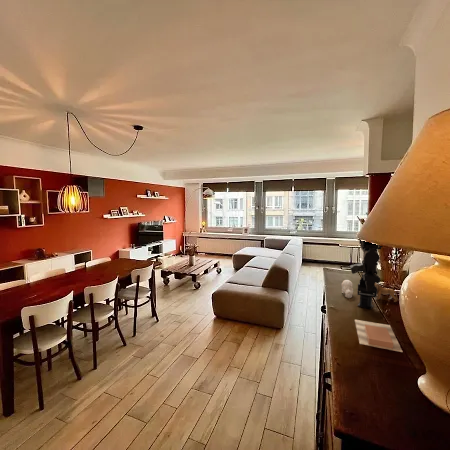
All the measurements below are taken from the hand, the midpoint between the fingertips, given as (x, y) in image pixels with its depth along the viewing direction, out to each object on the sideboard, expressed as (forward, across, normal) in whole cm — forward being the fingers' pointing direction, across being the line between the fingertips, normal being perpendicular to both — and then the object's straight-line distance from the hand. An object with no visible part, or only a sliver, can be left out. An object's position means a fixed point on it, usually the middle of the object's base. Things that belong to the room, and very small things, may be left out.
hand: (368, 291), depth 120 cm
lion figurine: (+13, -30, +12) cm, 35 cm away
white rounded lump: (+13, -28, -7) cm, 32 cm away
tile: (+11, +17, +1) cm, 20 cm away
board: (+13, +18, +1) cm, 23 cm away
